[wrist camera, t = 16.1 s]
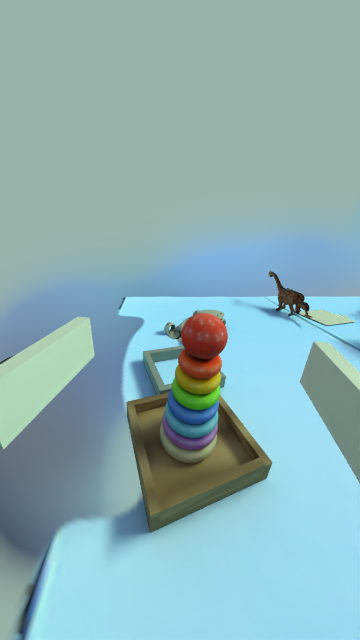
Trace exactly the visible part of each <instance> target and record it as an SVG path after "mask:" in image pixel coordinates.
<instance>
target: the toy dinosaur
mask: <svg viewBox="0 0 360 640" xmlns="http://www.w3.org/2000/svg"><path fill="white" fill-rule="evenodd" d="M269 275H270V277H272V276H274V278H275V280H276V283H277V287H278V291H279V293H278V301H279V305H278V306H279V308H277V309H276V310H277V311H278V310H280V309H281V308H285V307H286V306H285V305H289V308H290V310H291V313H290V314H289V315H288V316H291V315H293V311H294V314H295V313H297V314H299V313H300V311H301V310H300V308H302V309H303V310H305V313H306V314H305V315H304V316H305V317H307V318H313V317H312V316H309V315H308V312H307V311H309V305H308V304H307V303H305V302H303V301H304V299H305V298H304V295H303V294H301V293H298V292H295V291H293V290H290V289H289V290H288V288H287V289H285V288H283V286H282V285H281V283H280V281H279V279H278V277H277V275H276V274H275V273H274V272H272V271H270V272H269ZM282 303H284V305H283V306H282ZM294 304H295V305H296V308H295V310H294V308H293V305H294Z"/></svg>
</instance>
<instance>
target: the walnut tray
mask: <svg viewBox="0 0 360 640" xmlns="http://www.w3.org/2000/svg"><path fill="white" fill-rule="evenodd" d="M168 394H169V392H168V393H164V394H159V395H155V396H150V397H146V398H142V399H137V400H133V401H128V402H127V418H128V423H129V428H130V433H131V438H132V442H133V448H134V453H135V458H136V463H137V468H138V473H139V479H140V484H141V489H142V494H143V499H144V504H145V509H146V514H147V519H148V524H149V530H150V533H151V532H153V531H155V530H157V529H159V528H161V527H163V526H165V525H168V524H170V523H172V522H174V521H176V520H178V519H180V518H183V517H185V516H187V515H189V514H191V513H193V512H195V511H197V510H200V509H202V508H204V507H206V506H208V505H210V504H212V503H214V502H217V501H219V500H221V499H223V498H225V497H227V496H229V495H232V494H234V493H236V492H238V491H240V490H242V489H244V488H246V487H249V486H251V485H253V484H255V483H257V482H259V481H261V480H263V479H266V478H267V476H268V473H269V470H270V467H271V465H272V461H271V460H270V459H269V457H268V456H267V455H266V454H265V452H264V451H263V450H262V448H261V447H260V446H259V445H258V443H257V442H256V441H255V439H254V438H253V437H252V436H251V434H250V433H249V432H248V430H247V429H246V428H245V427H244V425H243V424H242V423H241V421H240V420H239V419H238V418H237V416H236V415H235V414H234V412H233V411H232V410H231V409H230V407H229V406H228V405H227V403H226V402H225V401H224V399H223V398H222V397H221V396H219V399H218V400H219V407H218V422H217V423H218V429H217V442H216V445H215V448H214V450H213V452H212V453H211V454H210V455H209V456H208V457H207V458H206V459H204V460H202V461H200V462H196V463H185V462H181V461H179V460H177V459H175V458H173V457H172V456H171V455H169V454H168V453H167V451H166V450H165V449H164V447H163V445H162V443H161V439H160V427H161V423H162V419H163V415H164V412H165V406H166V403H167V401H168Z"/></svg>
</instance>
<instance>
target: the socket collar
mask: <svg viewBox="0 0 360 640" xmlns="http://www.w3.org/2000/svg"><path fill="white" fill-rule="evenodd" d="M183 349H185V348H184V346H178V347H171V348H164V349H157V350H150V351H143V362H144V364H145V367H146V369H147V372H148V374H149V377H150V379H151V382H152V384H153V387H154V389H155V392H156V395H159V394H164V393H168V392H170V390H171V389H172V384H167V385H164V383H163V381H162V379H161V377H160V375H159V372H158V370H157V368H156V366H155V364H154V362H157V361H163V360H170V359H176V358H178V357H179V354H180V352H181V351H182V350H183ZM220 375H221V382H220V384H219V386H220V388H221V387H224V384H225V378H226V376H225V375H224V374H223V373H222V372H221V371H220Z"/></svg>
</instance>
